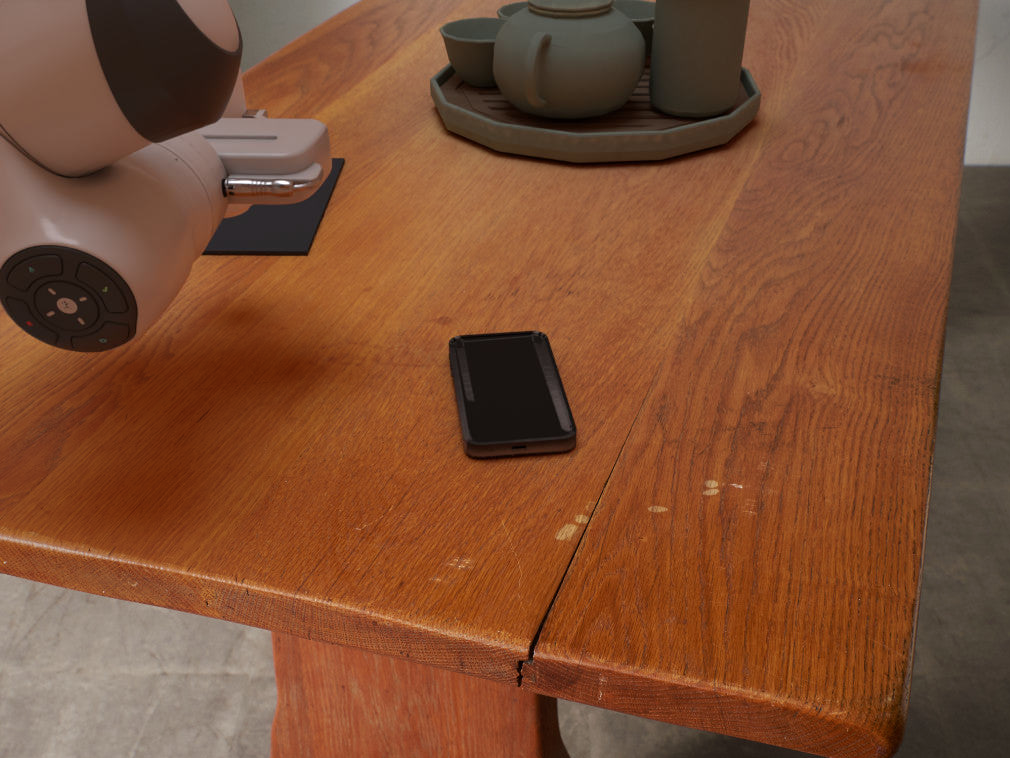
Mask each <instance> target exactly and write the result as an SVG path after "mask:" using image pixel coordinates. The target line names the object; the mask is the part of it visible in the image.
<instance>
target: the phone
mask: <svg viewBox="0 0 1010 758" xmlns="http://www.w3.org/2000/svg"><path fill="white" fill-rule="evenodd" d="M448 359H449V368H450V375H451V376H450V377H451V378H452V382H453V389H454V394H455V402H456V407H457V414H458V419H459V427H460V432H461V439H462V444H463V445H462V446H463V450H464V453H465V454H466V455H467V456H469V457H471V458H474V459H490V458H491V459H492V458H505V457H514V456H515V457H516V456H528V455H529V456H531V455H543V454H555V453H556V454H557V453H565V452H569V451H571V450H573V449H574V448H575V447H576V445H577V435H578V434H577V433H578V432H577V431H578V430H577V429H578V428H577V424H576V421H575V417H574V415H573V412H572V409H571V405H570V403H569V400H568V396H567V394H566V390H565V387H564V383H563V380H562V377H561V374H560V371H559V367H558V364H557V362H556V359H555V355H554V352H553V349H552V346H551V341H550V339H549V337H548V335H547V334H546V333H544V332H542V331H541V330H519V331H503V332H490V333H488V332H487V333H475V334H471V333H470V334H459V335H456V336H455V335H454V336H453V337H451V338H450V339H449V341H448Z"/></svg>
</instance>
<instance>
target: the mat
mask: <svg viewBox="0 0 1010 758" xmlns="http://www.w3.org/2000/svg"><path fill="white" fill-rule="evenodd" d="M345 163H346V158H345V157H332V169H331V172H330V174H329V175H328V177H327V178H326V180H325V181H324V183H323V184H322V185H321V186H320V187H319V189H318V190H317V191H316V192H315V193H314V194H313V195H311V196H310V197H309V198H307V199H305V200H304V201H301V202H297V203H293V204H281V205H270V204H253V205H251V206H250V207H249V209H248V210H247V211H246V212H244V213H242V214H240V215H237V216H234V217H229V218H223V219H222V221H221V223H220V225H219V226H218V228H217V230H216V231H215V233H214V235H213V236H212V238H211V240H210V241H209V243H208V245H207V247H206V248H205V250H204V251H203V253H202V254H201V255H208V256H209V255H212V256H213V255H221V256H222V255H223V256H224V255H226V256H228V255H230V256H234V255H235V256H238V255H239V256H240V255H241V256H308V255H309V253H310V251H311V247H312V245H313V242H314V240H315V237H316V235H317V232H318V230H319V227H320V225H321V223H322V220H323V217H324V215H325V213H326V210H327V207H328V205H329V202H330V200H331V197H332V195H333V193H334V189H335V187H336V185H337V182H338V180H339V178H340V175H341V172H342V170H343V168H344V166H345Z"/></svg>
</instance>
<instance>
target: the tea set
mask: <svg viewBox="0 0 1010 758" xmlns="http://www.w3.org/2000/svg"><path fill="white" fill-rule="evenodd" d="M750 4H751V0H655V1H649V0H525V1H524V0H523V1H516V2H512V3H508V4H504V5H502V6H501V7H500V8H498V9H497V10H496V15H497V17H489V16H487V17H484V16H481V17H470V18H469V17H468V18H461V19H458V20H454V21H450V22H446V23H445V24H444V25H442V26H441V27H440V28H439V29H438V31H439V33H440V35H441V37H442V39H443V43H444V47H445V50H446V54H447V58H448V63H447V64H446V65H445V66H444V67H442V68H441V69H440V70H439V71H438V72H436V73H435V75H433V76H432V77H431V78H430V79H429V88H430V90H429V92H430V97H431V99H432V101H433V104H434V105H435V107H436V109H437V111H438V113H439V116H440V117H441V120H442V122H443V124H444V126H445V128H446V130H447V131H450V132H453V133H454V134H456V135H459V136H462V137H464V138H466V139H469V140H471V141H474V142H476V143H477V144H480V145H483V146H485V147H487V148H489V149H492V150H495V151H497V152H501V153H508V154H513V155H521V156H528V157H535V158H541V159H547V160H556V161H563V162H567V163H568V162H569V163H574V164H575V163H577V164H587V163H589V164H590V163H611V162H612V163H614V162H642V161H643V162H644V161H661V160H666V159H669V158H673V157H677V156H681V155H684V154H685V155H686V154H689V153H693V152H696V151H701V150H704V149H708V148H713V147H717V146H720V145H721V146H722V145H725V144H727V143H728V142H729V141H730V140H732V139H733V138H734V137H735V136H736V135H737V134H739V133H740V132H741V131H743V129H744V128H746V127H747V126H748V125H749V124H750V123H751V122H752V121H754V119H755V118H756V117H757V114H758V113H759V111H760V107H761V100H762V92H761V90H760V89H759V86H758V85H757V83H756V81H755V79H754V76H753V75H752V73H751V71H750V70H749V69H748V68H746V67H743V57H744V51H745V44H746V43H745V42H746V36H747V28H748V21H749V12H750V6H751V5H750Z"/></svg>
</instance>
